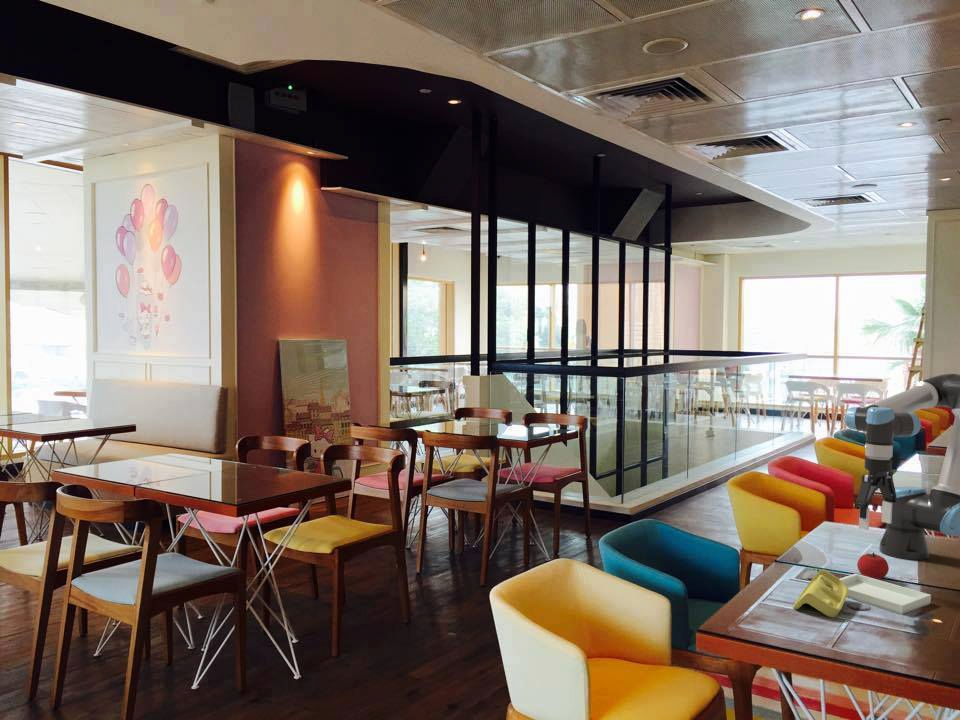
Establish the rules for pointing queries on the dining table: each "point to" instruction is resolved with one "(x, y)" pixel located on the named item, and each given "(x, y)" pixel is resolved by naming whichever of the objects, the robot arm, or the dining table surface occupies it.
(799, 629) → the dining table surface
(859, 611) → the dining table surface
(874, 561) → the tomato
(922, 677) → the dining table surface
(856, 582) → the tray
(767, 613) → the dining table surface
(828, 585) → the plastic component
